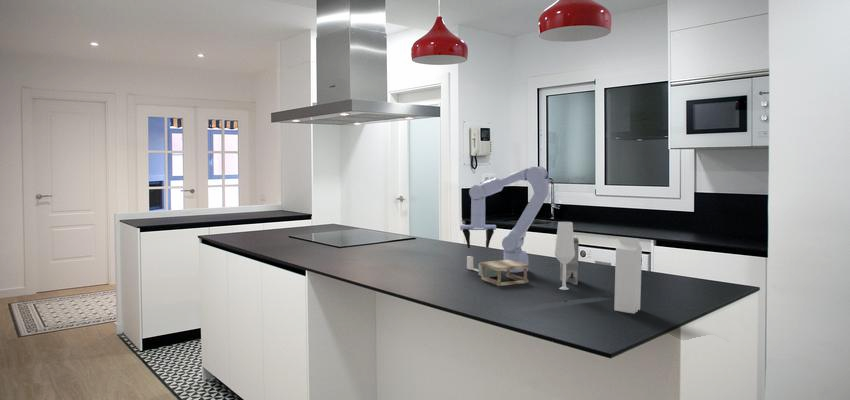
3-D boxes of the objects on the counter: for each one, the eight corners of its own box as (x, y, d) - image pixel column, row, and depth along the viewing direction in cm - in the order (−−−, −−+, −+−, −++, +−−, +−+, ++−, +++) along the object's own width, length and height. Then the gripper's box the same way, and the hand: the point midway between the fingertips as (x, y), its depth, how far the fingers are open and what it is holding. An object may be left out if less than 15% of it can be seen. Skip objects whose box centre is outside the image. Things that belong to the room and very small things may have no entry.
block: (474, 267, 233) (474, 255, 232) (498, 276, 216) (498, 263, 216) (461, 269, 230) (461, 256, 230) (485, 277, 214) (485, 264, 213)
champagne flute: (552, 293, 194) (554, 223, 192) (555, 289, 200) (556, 221, 199) (573, 294, 192) (574, 223, 190) (574, 290, 198) (576, 221, 196)
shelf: (497, 275, 223) (498, 256, 223) (528, 285, 205) (528, 264, 205) (469, 278, 218) (469, 258, 217) (497, 289, 200) (497, 267, 199)
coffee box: (559, 279, 217) (560, 237, 216) (576, 279, 216) (577, 237, 215) (560, 284, 208) (561, 240, 207) (578, 285, 207) (579, 241, 206)
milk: (620, 306, 177) (622, 236, 175) (640, 309, 173) (642, 237, 172) (613, 310, 172) (615, 238, 170) (634, 313, 168) (636, 239, 167)
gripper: (461, 215, 228) (461, 249, 229) (497, 215, 229) (497, 248, 230) (459, 213, 235) (459, 246, 236) (494, 213, 236) (494, 246, 237)
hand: (477, 247), depth 233 cm, fingers open, 7 cm apart
